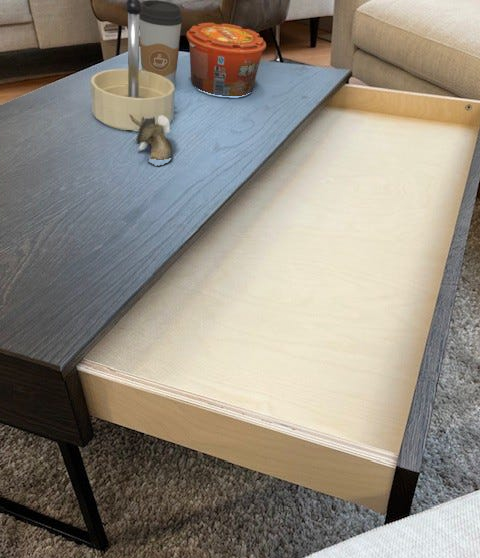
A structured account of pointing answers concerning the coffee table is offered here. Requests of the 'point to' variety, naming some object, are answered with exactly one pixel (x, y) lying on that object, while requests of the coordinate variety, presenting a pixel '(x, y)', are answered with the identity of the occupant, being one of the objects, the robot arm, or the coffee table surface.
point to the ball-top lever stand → (133, 47)
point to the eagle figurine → (154, 136)
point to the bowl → (130, 98)
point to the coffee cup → (160, 37)
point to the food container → (224, 58)
